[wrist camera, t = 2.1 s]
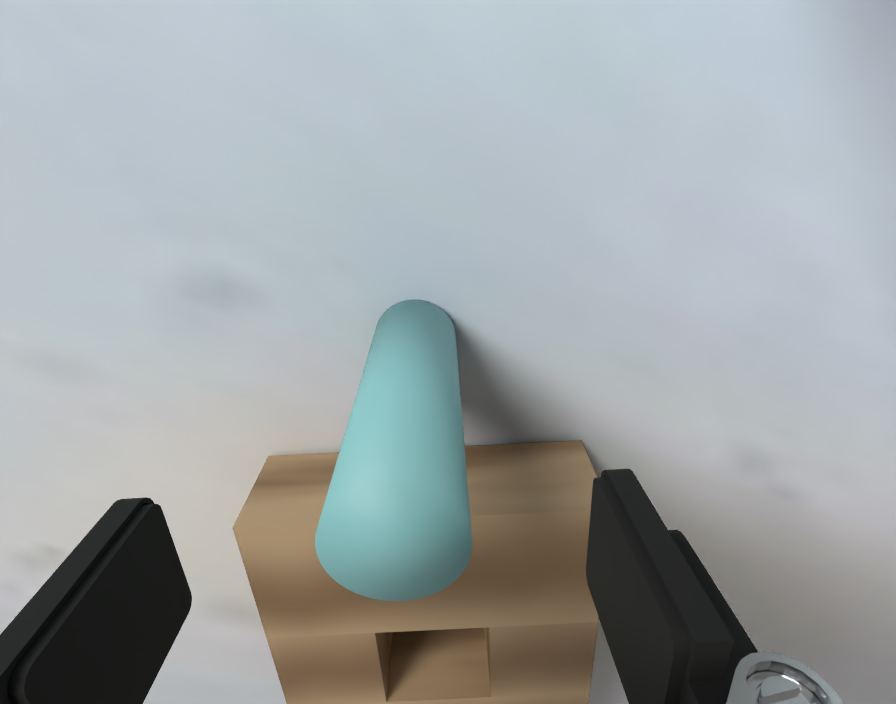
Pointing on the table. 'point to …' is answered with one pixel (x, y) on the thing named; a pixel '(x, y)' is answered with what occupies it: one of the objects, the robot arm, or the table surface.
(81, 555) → the robot arm
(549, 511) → the hole block
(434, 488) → the peg
